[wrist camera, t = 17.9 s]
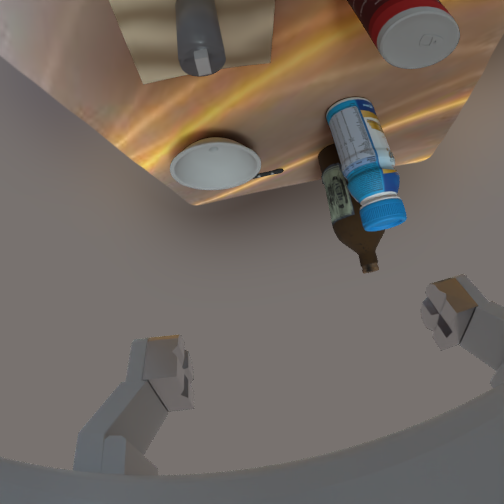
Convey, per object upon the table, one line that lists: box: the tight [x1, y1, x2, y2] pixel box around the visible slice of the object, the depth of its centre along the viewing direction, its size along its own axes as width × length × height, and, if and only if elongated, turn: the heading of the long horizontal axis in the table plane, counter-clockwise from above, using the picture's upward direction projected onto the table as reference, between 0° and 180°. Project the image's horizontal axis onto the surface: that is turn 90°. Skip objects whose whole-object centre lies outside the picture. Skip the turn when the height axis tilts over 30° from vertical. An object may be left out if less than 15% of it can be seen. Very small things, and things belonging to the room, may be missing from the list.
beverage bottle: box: [326, 97, 407, 231], centre depth 46 cm, size 8×8×20 cm
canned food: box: [347, 0, 460, 69], centre depth 21 cm, size 8×8×11 cm
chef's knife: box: [252, 169, 284, 179], centre depth 68 cm, size 19×1×3 cm
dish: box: [170, 137, 261, 190], centre depth 52 cm, size 18×14×5 cm
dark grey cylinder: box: [175, 0, 226, 76], centre depth 22 cm, size 4×4×9 cm
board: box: [109, 0, 275, 85], centre depth 23 cm, size 20×15×2 cm
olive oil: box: [318, 144, 385, 273], centre depth 61 cm, size 11×11×25 cm
